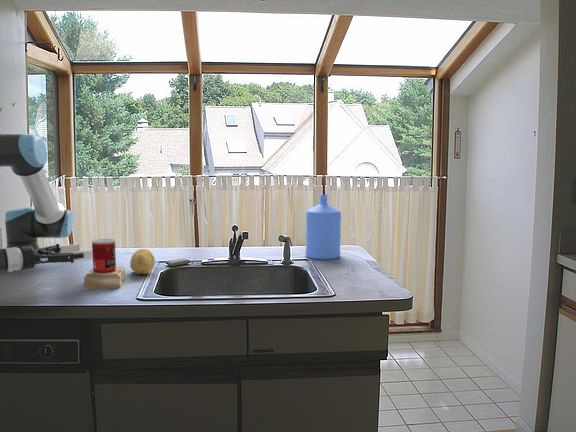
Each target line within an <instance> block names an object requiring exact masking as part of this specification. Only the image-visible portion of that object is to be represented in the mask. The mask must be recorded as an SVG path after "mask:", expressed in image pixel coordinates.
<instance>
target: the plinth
mask: <svg viewBox="0 0 576 432" xmlns="http://www.w3.org/2000/svg"><path fill="white" fill-rule="evenodd" d="M125 280H126V268H125V267H123V266H116V269H115V271H113V272H108V273H97V272H94V270H93V267H91V269H90V270H89V271H88V272H87V273H86V274H85V275H84V276H83V283H84V285H83V286H84V290H93V289H94V290H97V289H102V290H103V289H121V287H122V285H123V284H124V283H125Z"/></svg>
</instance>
